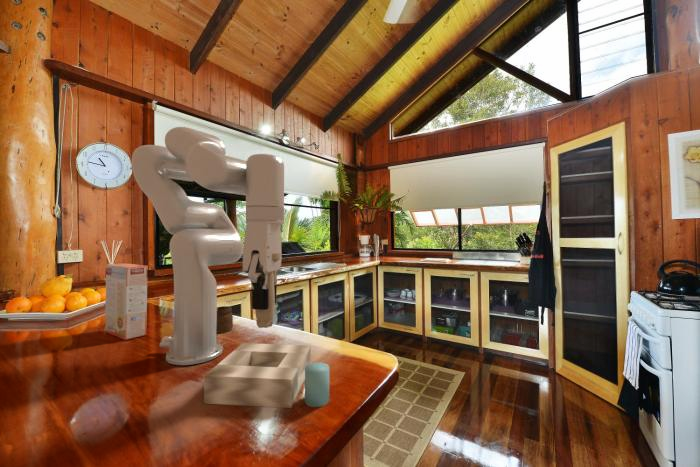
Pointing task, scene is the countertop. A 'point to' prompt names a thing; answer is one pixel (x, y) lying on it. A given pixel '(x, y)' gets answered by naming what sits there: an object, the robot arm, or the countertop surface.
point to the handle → (266, 315)
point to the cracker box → (126, 300)
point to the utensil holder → (224, 319)
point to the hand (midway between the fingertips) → (264, 305)
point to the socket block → (258, 376)
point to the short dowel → (317, 384)
